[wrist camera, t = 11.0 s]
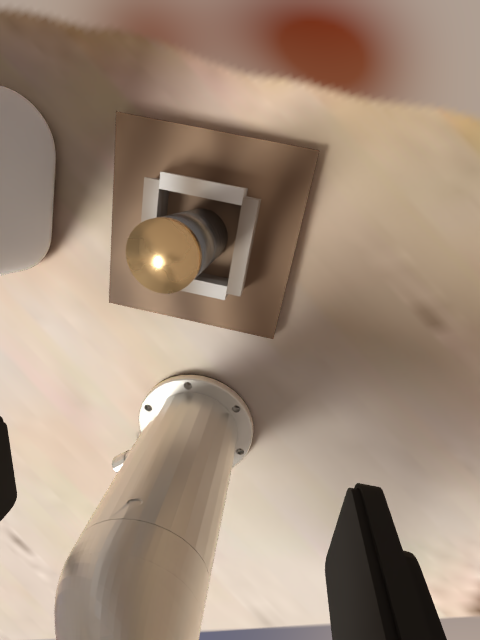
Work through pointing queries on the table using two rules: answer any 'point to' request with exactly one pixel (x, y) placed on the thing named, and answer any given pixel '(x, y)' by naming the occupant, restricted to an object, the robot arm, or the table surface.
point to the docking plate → (220, 197)
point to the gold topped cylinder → (175, 248)
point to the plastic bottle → (24, 183)
